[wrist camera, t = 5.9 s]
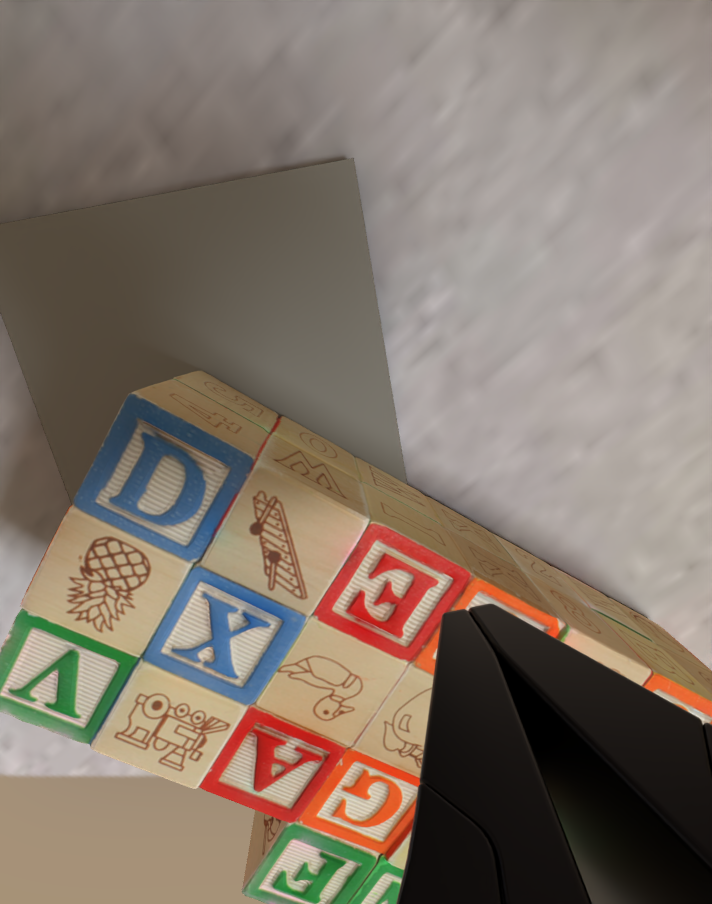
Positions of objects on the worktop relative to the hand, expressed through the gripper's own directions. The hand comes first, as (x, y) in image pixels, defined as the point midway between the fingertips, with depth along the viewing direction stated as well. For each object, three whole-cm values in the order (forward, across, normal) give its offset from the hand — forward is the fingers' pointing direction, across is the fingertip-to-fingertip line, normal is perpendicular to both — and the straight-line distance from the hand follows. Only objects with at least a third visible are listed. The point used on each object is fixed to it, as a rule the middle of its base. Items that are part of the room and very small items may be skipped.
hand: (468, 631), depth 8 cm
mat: (+10, +5, -1) cm, 12 cm away
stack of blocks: (+7, -2, +2) cm, 7 cm away
